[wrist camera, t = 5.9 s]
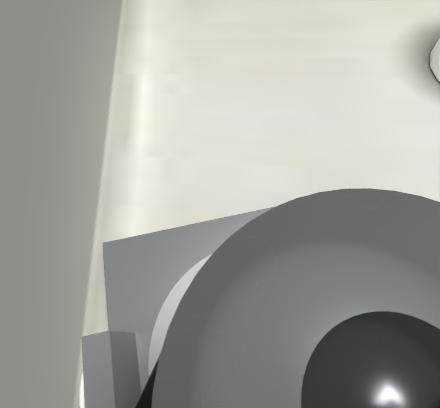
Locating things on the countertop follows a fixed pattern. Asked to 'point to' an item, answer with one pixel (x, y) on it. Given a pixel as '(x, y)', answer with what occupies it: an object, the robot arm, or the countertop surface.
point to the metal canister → (313, 310)
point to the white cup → (435, 60)
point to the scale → (144, 305)
